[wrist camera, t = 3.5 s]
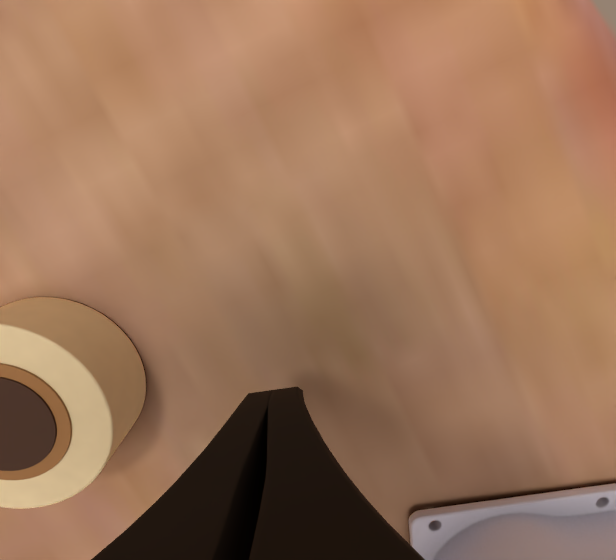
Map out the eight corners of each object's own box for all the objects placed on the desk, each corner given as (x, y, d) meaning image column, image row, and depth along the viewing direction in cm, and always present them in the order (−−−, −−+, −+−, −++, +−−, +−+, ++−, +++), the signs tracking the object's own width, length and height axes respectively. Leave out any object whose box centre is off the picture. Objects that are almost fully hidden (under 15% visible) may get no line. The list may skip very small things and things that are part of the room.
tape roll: (122, 284, 12) (75, 310, 10) (163, 440, 14) (133, 498, 11) (-60, 309, 12) (-156, 341, 10) (3, 462, 14) (-66, 525, 11)
